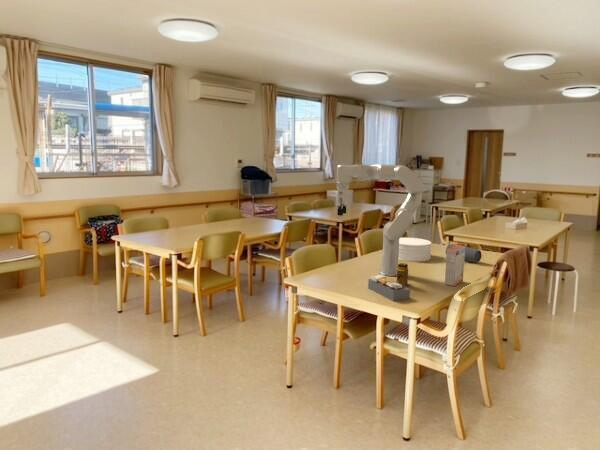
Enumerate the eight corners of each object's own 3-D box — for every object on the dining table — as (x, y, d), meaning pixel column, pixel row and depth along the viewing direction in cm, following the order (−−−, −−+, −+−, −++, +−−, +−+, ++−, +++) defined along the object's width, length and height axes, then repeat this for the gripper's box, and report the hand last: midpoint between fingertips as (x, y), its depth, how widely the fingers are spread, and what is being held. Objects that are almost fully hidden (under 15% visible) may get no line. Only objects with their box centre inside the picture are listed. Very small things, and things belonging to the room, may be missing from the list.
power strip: (383, 286, 250) (384, 277, 249) (409, 298, 229) (410, 289, 228) (368, 288, 246) (368, 278, 245) (393, 301, 225) (393, 291, 224)
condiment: (393, 285, 253) (394, 264, 251) (400, 282, 259) (401, 261, 257) (405, 287, 248) (406, 266, 246) (412, 284, 254) (413, 263, 253)
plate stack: (435, 256, 328) (436, 240, 327) (423, 263, 305) (424, 246, 303) (398, 251, 343) (399, 236, 341) (384, 257, 320) (384, 241, 318)
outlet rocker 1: (381, 278, 245) (381, 273, 245) (386, 280, 241) (385, 275, 241) (371, 281, 243) (371, 276, 243) (376, 283, 239) (375, 279, 239)
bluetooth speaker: (444, 258, 322) (445, 244, 320) (452, 256, 327) (453, 243, 326) (473, 264, 304) (474, 250, 302) (481, 263, 309) (482, 248, 308)
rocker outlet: (396, 287, 233) (397, 282, 233) (401, 289, 229) (402, 285, 229) (386, 286, 230) (387, 281, 230) (391, 288, 226) (392, 284, 226)
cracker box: (453, 279, 266) (455, 244, 263) (463, 281, 263) (466, 246, 259) (443, 284, 256) (446, 248, 252) (454, 286, 252) (457, 249, 249)
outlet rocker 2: (388, 283, 239) (389, 279, 239) (393, 285, 235) (394, 281, 235) (378, 282, 236) (379, 278, 236) (383, 285, 232) (384, 280, 232)
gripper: (346, 187, 261) (345, 216, 264) (351, 185, 277) (350, 213, 280) (333, 186, 263) (332, 215, 266) (339, 184, 279) (338, 212, 282)
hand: (341, 214), depth 273 cm, fingers open, 9 cm apart
